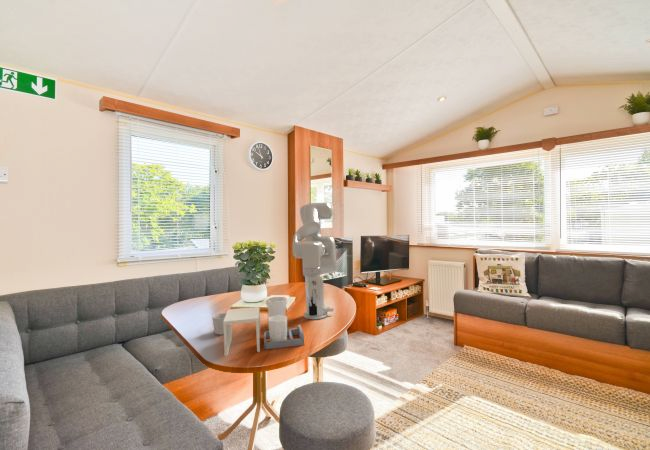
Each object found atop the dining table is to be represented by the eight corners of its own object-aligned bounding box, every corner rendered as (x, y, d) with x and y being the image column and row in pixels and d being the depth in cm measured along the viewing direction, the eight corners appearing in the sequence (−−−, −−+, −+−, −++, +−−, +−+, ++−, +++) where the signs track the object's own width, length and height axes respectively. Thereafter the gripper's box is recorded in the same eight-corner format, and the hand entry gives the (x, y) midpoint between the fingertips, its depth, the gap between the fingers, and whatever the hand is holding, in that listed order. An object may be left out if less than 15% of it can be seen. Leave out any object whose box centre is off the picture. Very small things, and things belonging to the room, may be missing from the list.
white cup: (284, 346, 122) (283, 321, 122) (265, 345, 124) (265, 321, 123) (290, 338, 130) (289, 315, 129) (273, 337, 131) (272, 314, 131)
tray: (300, 333, 135) (300, 324, 135) (304, 344, 122) (303, 335, 122) (264, 337, 132) (263, 328, 132) (264, 349, 119) (263, 339, 119)
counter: (260, 336, 133) (259, 306, 133) (259, 352, 117) (258, 318, 117) (229, 339, 130) (228, 309, 130) (224, 356, 115) (223, 321, 115)
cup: (217, 328, 146) (216, 311, 145) (234, 327, 146) (233, 310, 146) (210, 336, 135) (210, 318, 135) (229, 335, 135) (228, 317, 135)
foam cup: (285, 321, 151) (284, 295, 151) (289, 328, 143) (288, 300, 142) (266, 324, 148) (265, 298, 148) (269, 331, 139) (268, 302, 139)
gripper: (323, 273, 122) (325, 319, 122) (317, 268, 137) (318, 309, 137) (305, 274, 121) (306, 321, 120) (300, 269, 135) (302, 311, 135)
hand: (313, 314), depth 129 cm, fingers closed
